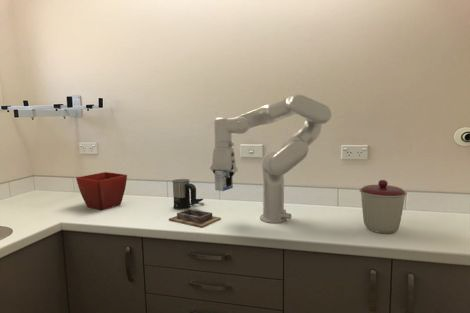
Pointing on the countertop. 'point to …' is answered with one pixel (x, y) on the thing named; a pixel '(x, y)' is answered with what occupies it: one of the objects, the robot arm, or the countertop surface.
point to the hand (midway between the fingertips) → (223, 184)
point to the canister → (382, 207)
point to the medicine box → (221, 181)
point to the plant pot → (102, 189)
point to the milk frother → (184, 194)
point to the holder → (195, 218)
